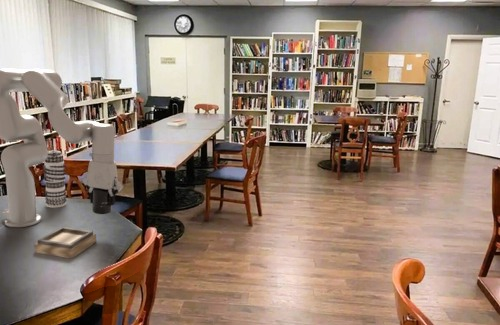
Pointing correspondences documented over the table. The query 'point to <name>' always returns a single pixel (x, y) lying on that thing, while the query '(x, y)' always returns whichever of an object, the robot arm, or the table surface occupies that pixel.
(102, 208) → the supplement bottle
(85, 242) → the wooden tray
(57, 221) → the table surface
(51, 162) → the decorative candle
